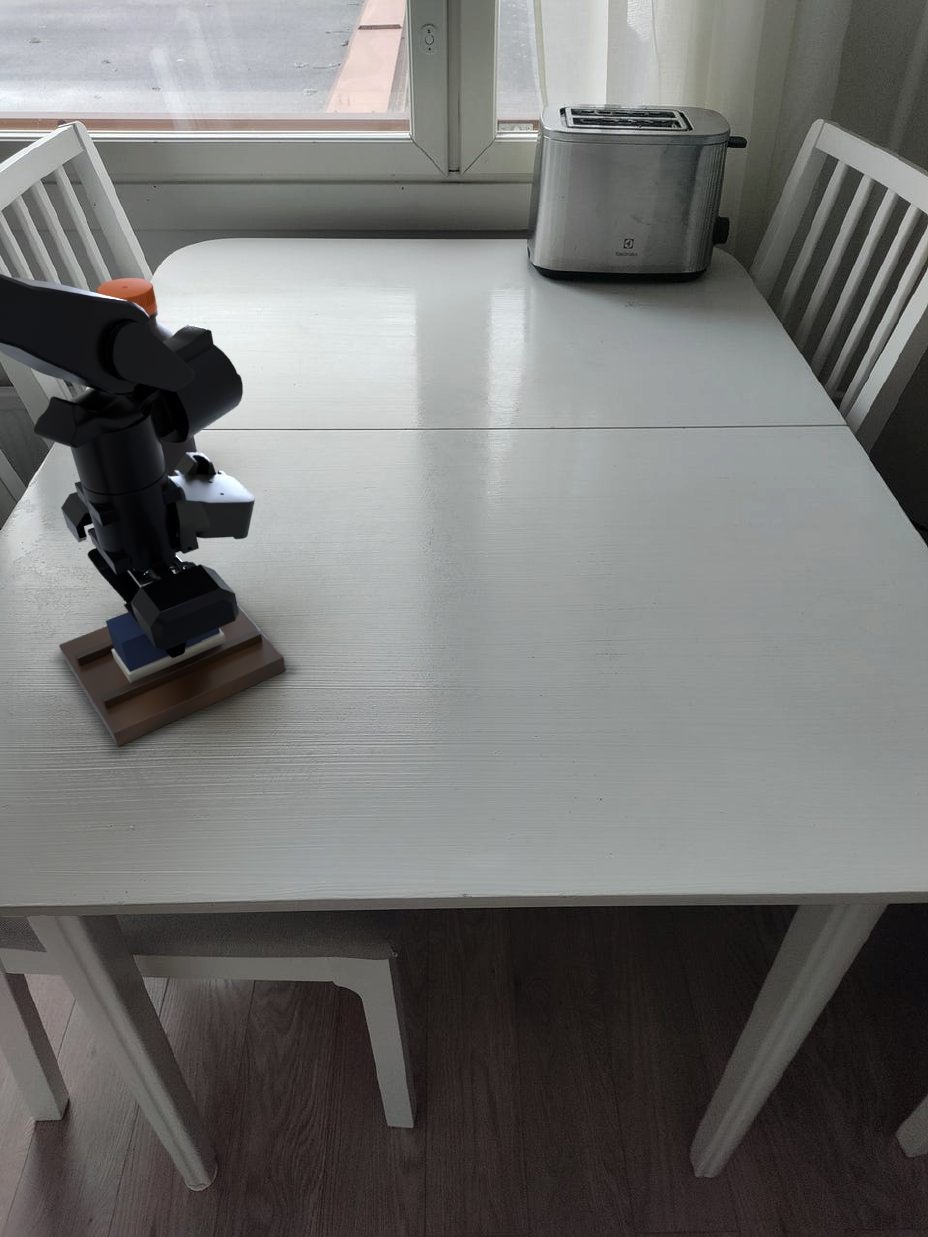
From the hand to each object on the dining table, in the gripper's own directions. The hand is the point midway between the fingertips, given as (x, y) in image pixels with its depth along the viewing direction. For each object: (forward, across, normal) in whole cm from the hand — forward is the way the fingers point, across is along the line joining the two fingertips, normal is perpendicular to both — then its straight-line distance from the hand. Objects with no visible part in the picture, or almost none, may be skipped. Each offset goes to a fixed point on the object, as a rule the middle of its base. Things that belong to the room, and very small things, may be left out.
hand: (167, 641), depth 76 cm
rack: (+2, 0, 0) cm, 2 cm away
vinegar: (+3, +27, -11) cm, 29 cm away
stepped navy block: (+1, 0, 0) cm, 1 cm away
